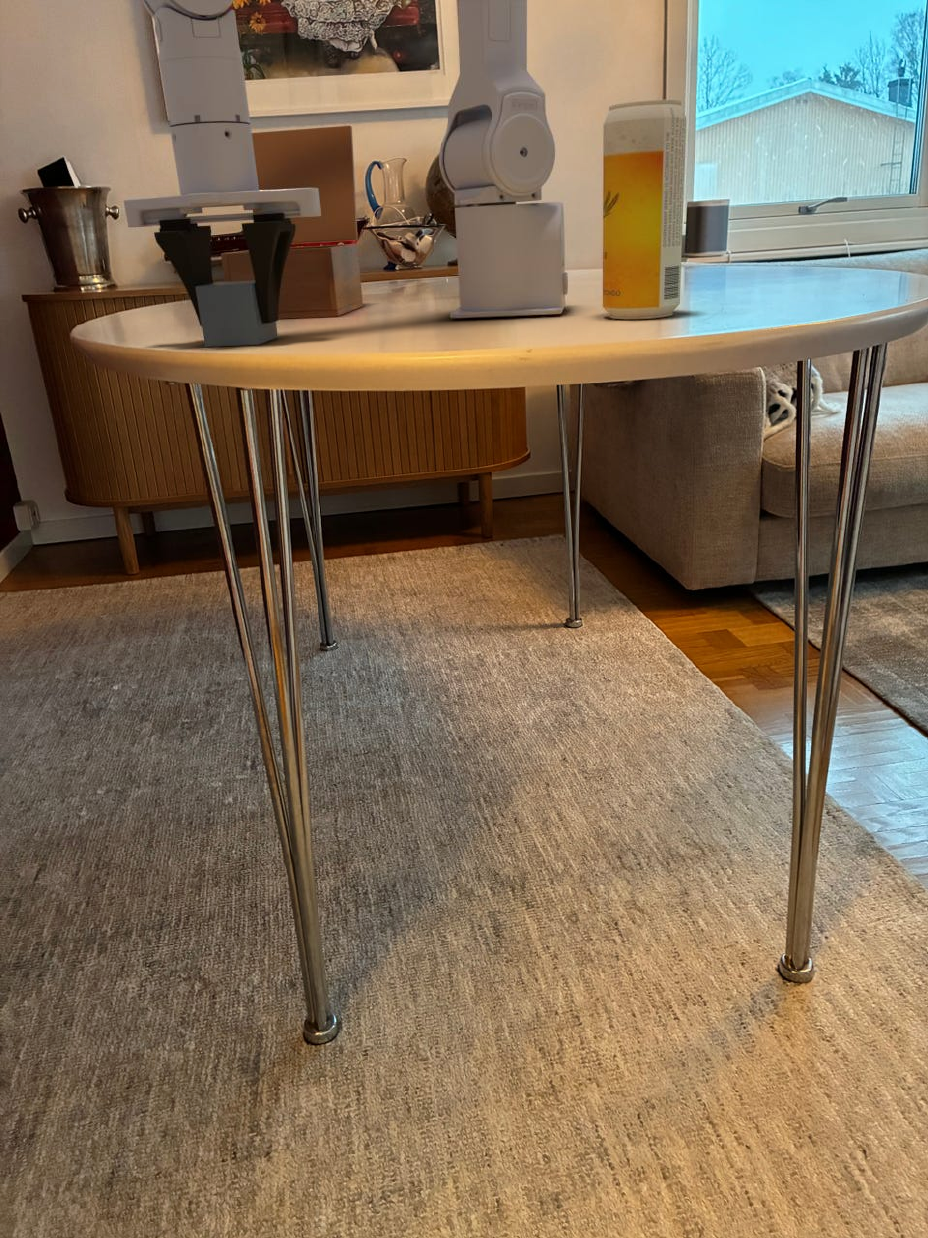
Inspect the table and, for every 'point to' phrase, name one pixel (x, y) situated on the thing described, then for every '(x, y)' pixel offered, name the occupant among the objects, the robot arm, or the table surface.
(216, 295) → the block
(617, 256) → the beer can
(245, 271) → the chest
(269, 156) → the lid
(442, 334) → the table surface
